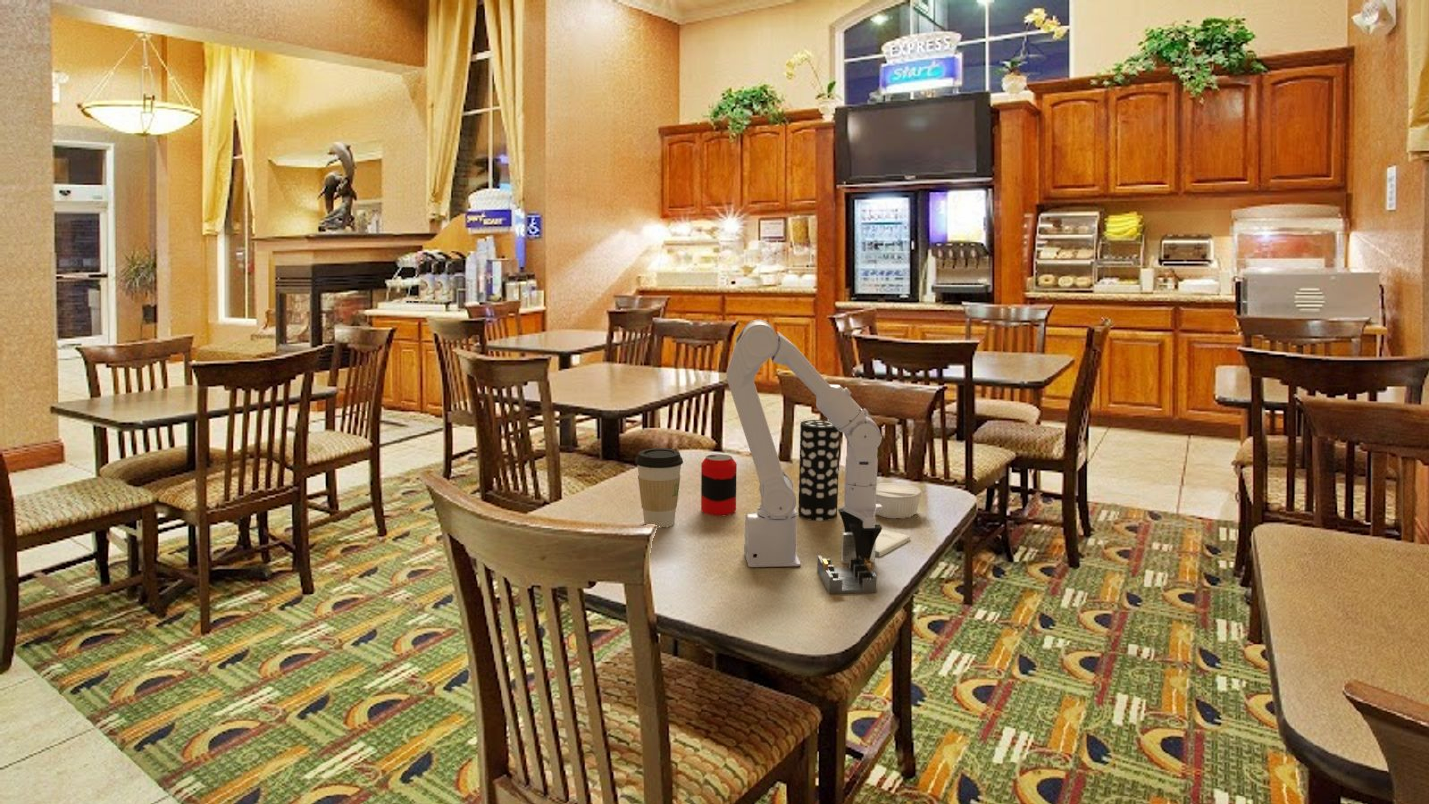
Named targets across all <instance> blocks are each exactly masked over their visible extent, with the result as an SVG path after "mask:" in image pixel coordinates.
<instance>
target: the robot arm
mask: <svg viewBox="0 0 1429 804" xmlns="http://www.w3.org/2000/svg"><path fill="white" fill-rule="evenodd" d="M732 349H733V350H732V353H731V356H730V360H729V363H728V366H727V368H726V381H727V384H728V388H729V391H730V393H731V396H732V399H733V402H734V406H735V408H736V412H737V415H738V418H739V420H740V423H741V427H742V430H743V434H744V436H745V439H746V442H747V445H748V446H747V447H748V448H749V449H748V450H749V452H750V455H751V457H752V460H753V464H754V467H755V470H756V473H757V478H758V481H759V494H760V505H759V507H757V510H756V512H753V513H747V514H746V515H745V519H744V544H743V554H744V556H745V561H746V562H747V565H748V567H749V568H766V567H769V568H771V567H774V568H775V567H776V568H777V567H778V568H780V567H800V566H801V561H800V559H799V557H798V555H797V551H796V550H797V516H798V511H797V509H795V508H796V506H797V497H796V493H795V492H794V484H793V480H792V479H791V478H790V476H788V475H787V474H786V473H785V471H784V470H783V469H784V468H783V467H782V464H781V461H780V458H779V456H778V451H777V449H776V446H775V443H774V439H773V436H772V434H771V430H770V428H769V425H768V421H767V417H766V415H765V412H764V408H763V405H762V402H761V400H760V395H759V393H758V390H757V386H756V384H755V380H754V379H755V377H756V376H757V374H758V372H759V371H760V369H761V368H762V365H763V364H765V363H766V362H767V361H769V360H770V359H771V362H772V363H774V364H777V365H782V366H785V367H787V368H788V369H789V370H790V371H791V372H792V373H793V374H794V376H796V377H797V378H798V379H799V380H800V381H801V382H802V383H803V384H804V385H805V386H806V387H807V388H808V390H810V391H811V393H813V394H814V396H816V402H815V406H816V408H817V409H818V410H819V411H820V413H822V415H823V416H824V417H825V418H826V420H829V421H830V422H831V423H832V424H833V425H834V426H835V427H836V428H837V429H838V431H839V432H840V433H842V434H843V435H844V438H845V439H846V440H847V441H848V442H847V446H846V456H845V474H844V498H843V499H844V501H843V504H842V508H837V512H838V513H839V516H840V518H841V521H842V524H843V528H844V532H852V534H853V537H854V542H855V552H856V558H859V555H863V557H864V558H868V559H869V560H870V557H871V553H872V550H873V546H874V543H875V541H876V539H877V537H878V535H879V534H880V532H881V530H882V529H883V527H882V525H881V524H878V523H877V524H876V515H877V514H876V511H878V510H882V506H881V505H880V504H876V489H877V484H878V462H879V461H878V460H879V459H878V453H879V451H878V448H879V447H880V445H881V443H882V439H883V436H882V435H881V430H880V427H879V426H878V425H877V424H876V422H875V421H874V420H873V419H872V416H870V415H869V411H868V410H867V409H866V408H863V409H862V406H860V405H859V404H858V403H857V401H855V400H854V398H852V396H851V394H852V392H851V390H850V389H849V388H848V387H844V388H843V386H841V385H840V384H830V383H828V382H827V381H826V379H825V378H824V377H823V376H822V375H821V374H820V372H819V371H818V370H817V369H816V368H815V367H814V365H813V364H812V363H811V362H810V361H809V360H808V359H807V358H806V356H805V355H804V354H803V352H801V351H800V349H799V348H798V347H797V346H796V345H795V344H794V343H793V342H791V341H790V340H789V339H788V338H787V337H786V336H784V334H782V333H781V332H779V331H777V333H776V331H775V328H774V327H773V325H772V324H770V322H767V321H766V320H763V319H755V320H751V321H748V323H747V324H746V325H744V327H743V328H742V330H741V331H740V332H739V334H738V335H737V337H736V339H735V343H734V346H733V348H732Z"/></svg>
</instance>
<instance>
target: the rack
mask: <svg viewBox="0 0 1429 804" xmlns="http://www.w3.org/2000/svg"><path fill="white" fill-rule="evenodd" d="M831 563H832V561H831V558H823V557H822V555H821V554H820V555H817V568H816V572H817V574H818V576H819V578H820V579H821V581H822V584H823V585H824V587H825V589H826V591H827V592H828V595H838V594H839V595H842V594H877V580H878V578H877V574H876V572H875V571H874V570H873V568H872V563H871V562H870V561H869V559H868V558H864V557H863V555H859V558H850V563H848V564H849V567H835V565H834V564H831Z"/></svg>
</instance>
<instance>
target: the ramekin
mask: <svg viewBox="0 0 1429 804" xmlns="http://www.w3.org/2000/svg"><path fill="white" fill-rule="evenodd" d="M921 496H922V490H921V489H920V488H918V487H917V486H914V485H912V484H905V483H898V482H881V483H877V489H876V504H880V505H881V506H882V510H878V511H876V514H875V515H877V516H880V517H883V518H886V517H887V519H896V518H901V519H906V518H905V517H909V518H911V517H910V516H912V517H914V516H915V515H914V514H917V511H918V510H919V509H918V508H919V504H920V498H921ZM913 515H914V516H913Z"/></svg>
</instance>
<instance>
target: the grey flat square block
mask: <svg viewBox="0 0 1429 804" xmlns="http://www.w3.org/2000/svg"><path fill="white" fill-rule="evenodd" d="M840 539H841V540H840V541H841V542H840V544H841V545H840V549H841V550H840V561H841V564H850V558H856V552H855V542H854V537H853V534H852V532H845V531H842V532H841V538H840ZM875 547H876V541H875V543H874V546H873V550H872V553H871V557H870V560H869V561H870V562H871V564H873V563H876V556H875Z"/></svg>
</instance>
